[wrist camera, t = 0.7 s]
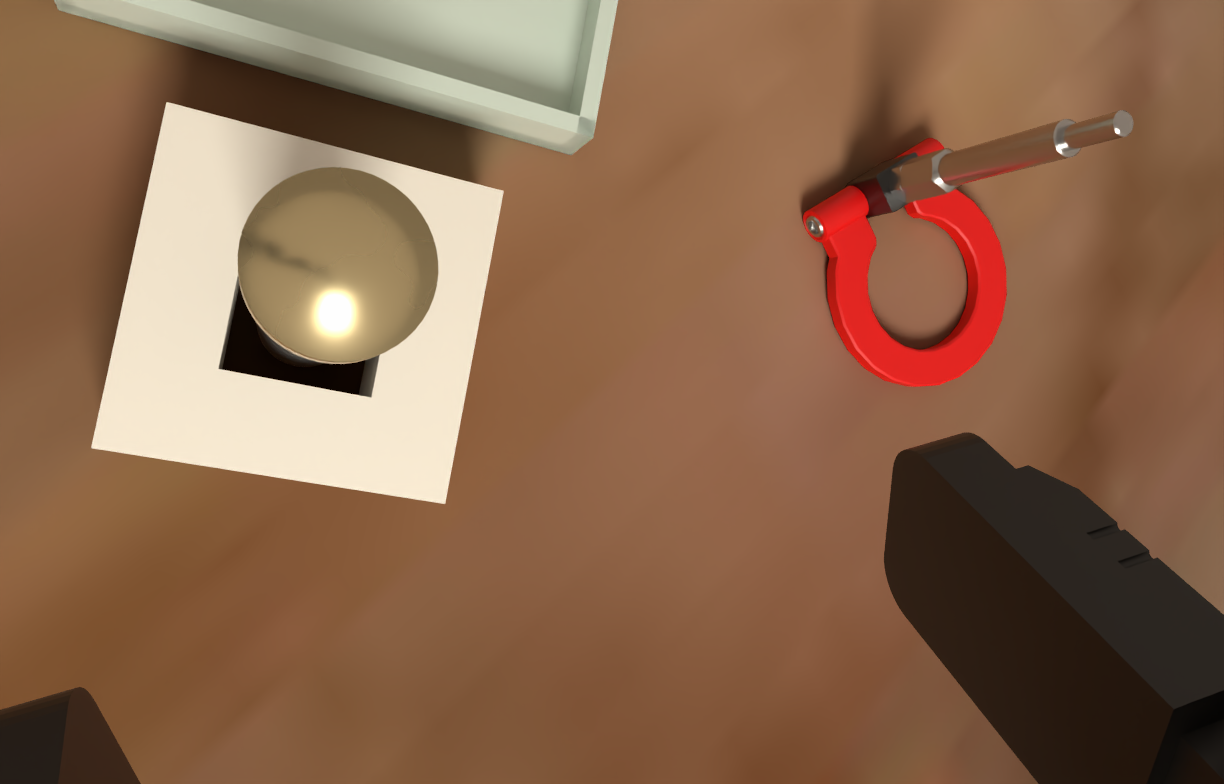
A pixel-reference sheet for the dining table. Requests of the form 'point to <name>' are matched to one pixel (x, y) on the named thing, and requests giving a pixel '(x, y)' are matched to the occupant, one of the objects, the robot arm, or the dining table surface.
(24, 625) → the dining table surface
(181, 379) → the socket block
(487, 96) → the tray
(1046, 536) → the robot arm
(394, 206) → the metal pin
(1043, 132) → the tow hook
